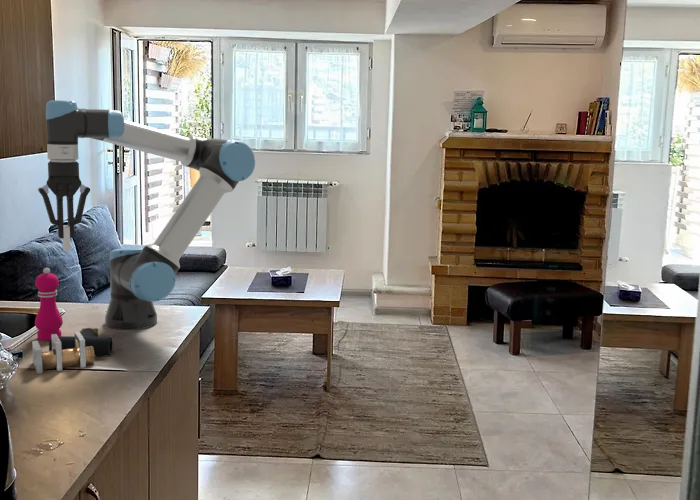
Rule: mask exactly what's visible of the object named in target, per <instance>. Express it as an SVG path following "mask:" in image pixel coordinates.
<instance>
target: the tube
mask: <svg viewBox="0 0 700 500" xmlns="http://www.w3.org/2000/svg"><path fill="white" fill-rule="evenodd" d="M95 357H96V356H95V354H94V348H93V346H89V347H85V358H86V365H91V364H92V365H93V364H95V361H96V359H95ZM74 366H75V367H76V366H80V354H79V348H72V349H63V350H62V368H69V367H74ZM42 369H43V371H44V370H53V369H56V349H53V351H49V350H46V351H42Z"/></svg>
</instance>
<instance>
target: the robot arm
mask: <svg viewBox="0 0 700 500" xmlns="http://www.w3.org/2000/svg"><path fill="white" fill-rule="evenodd" d="M45 118H46V119H45V127H47V128H46V141H47V142H46V147H47V149H46V150H47V151H46V153H47V160H49V161H48V162H47V175H48V178H47V180H46V183H45V184H44V185H43V186H41V187H38V189H37V192H38V193H39V194H40V195H41V196H42V199H43V204H44V206H45V209H46V212H47V216H48V219H49V223H51V224H52V225H55V226H57V237H58V238H59V239H62V251H64V252H71V238H72V239H74V237H75V225H78V224H81V223H82V220H83V214H84V209H85V206H86V200H87V196H88V195H89V193H90V192H91V189H90V187H88V186H86V185H84V184H82V180H81V179H80V164H79V163H80V162H78V161H77V160H79V139H84V138H85V139H86V138H87V139H88V138H89V139H93V140H96V141H101V142H105V143H108V144H113V145H117V146H120V147H125V148H129V149H132V150H136V151H139V152H143V153H147V154H152V155H155V156H158V157H162V158H166V159H169V160H173V161H177V162H180V163H181V166H183V167H187V168H190V169H194V170H196V171H199V172H198V173H199V178H198V179H197V180H196V182H195V183H194V184H193V186H192V187H191V188H190V190H189V192H188V193H187V195H186V196H185V198H184V199H183V201H182V202H181V203H180V205H179V207H178V208H177V209H176V211H175V212H174V214H173V215H172V216H171V218H170V219H169V221H168V222H167V224H166V225H165V227H164V228H163V229H162V230H161V232H160V233H159V235H158V236H157V238H156V239H155V241H154V242H153V243H149V244H145V246H144V247H127V248H126V247H125V248H116V249H112V250H111V251H110V252H109V260H108V263H109V281H110V282H109V283H110V284H109V285H110V300H109V302H108V306H107V311H106V312H105V313H106V314H105V316H104V317H105V318H104V321H105V323H104V325H105V326H106V327H108V328H110V329H115V330H139V329H140V330H141V329H145V328H149V327H153V326H154V325H156V324H157V323H158V315H157V314H158V313H157V311H156V307H155V306H154V305H155V304H154V303H153V302H159V301H162V300H164V299H165V298H168V296H169V295H170V294H171V293H172V292H173V290H174V288H175V286H176V274H177V273H178V271H179V270H180V268H181V265H180V259H181V257H182V256H183V254H184V253H185V252H186V251H187V249H188V247H189V245H190V244H191V243H192V241H194V239H195V237H196V236H197V234H198V233H199V231H200V230H201V229H202V227H203V225H204V224H205V223H206V221H207V220H208V218H209V216H210V215H211V214H212V212H213V211H214V209H215V208H216V207H217V205H218V204H219V202H220V201H221V199H222V198H223V196H224V195H225V194H227V193H232V192H233V191H234V190H235V188H236V187H237V185H238V184H239V182H243V181H245V180H247V179H249V177H250V176H252V174H253V173H254V170H255V166H256V160H255V154H254V151H253V150H252V148H251V147H250V145H248V144H247V143H245V142H244V141H240V140H238V139H233V138H232V139H225V138H207V137H206V138H205V137H198V136H195V135H190V134H189V135H188V136H183V135H180V134H176V133H172V132H169V131H165V130H161V129H158V128H154V127H150V126H148V125H144V124H140V123H137V122H133V121H129V120H126V119H125V117H124V115H123V113H122V112H121V111H120V110H119V109H118V110H114V109H110V108H109V109H99V108H98V109H96V108H95V109H92V108H91V109H89V108H88V109H87V108H79V107H78V105H77V102H76V101H75V100H59V99H57V100H56V99H55V100H52V99H51V100H49V101H47V102H46V104H45ZM50 190H51V192H52V193H53V195H55V200H56V216H55V213H54V210H53V207H52V204H51V200H50V197H49V195H48V194H49V192H50ZM78 190H79V192H80V195H79V198H78V203H77V208H76V213H74V196H75V195H76V193H77V192H78ZM64 197H66V198H65V199H66V210H67V211H66V212H67V215H66V217H67V224H65V223H64V203H63V201H64ZM74 214H75V215H74ZM56 217H57V218H56Z"/></svg>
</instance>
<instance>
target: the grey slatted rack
mask: <svg viewBox="0 0 700 500" xmlns="http://www.w3.org/2000/svg"><path fill="white" fill-rule="evenodd" d="M73 335H74V336H75V348H79V354H80V365H79V368H80V369H86V368H87V366H86V365H87V364H86V358H85V339H84V338H83V336H82V335H81V333H80V331H74V334H73ZM51 336H52V351H53V349H56V368H55V369H56V372H63V367H62V349H61V341H60V339H59V338H58V336H57V334H51ZM31 343H32V344H31V345H32V365H33V366H34V369H35V372H36V374H37V375H41V374H44V372H43V371H44V370H43V368H42V352H43V350H42V348H41V345H40V343H39V341H38V340H32V342H31Z"/></svg>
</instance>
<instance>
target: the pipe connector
mask: <svg viewBox="0 0 700 500" xmlns="http://www.w3.org/2000/svg"><path fill="white" fill-rule="evenodd" d="M79 332H80V333H81V335H82V336H83V338H84V339H85V347H89V346H93V348H94V354H95V357H97V356H101V357H102V356H104V357H106V356H107V357H108V356H112V353H113V352H114V351H113V350H114V340H113V337H112V336H100V334H99V328H94V327H92V328H91V327H85V328H82V329H81V330H80V331H79ZM58 338H59V339H60V341H61V349H62V350H63V349H72V348H75V335H74V336H72V335H70V336H64V335H63V336H62V335H61V336H58ZM48 351H52V337H51V339H50V341H49V343H48Z"/></svg>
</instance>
